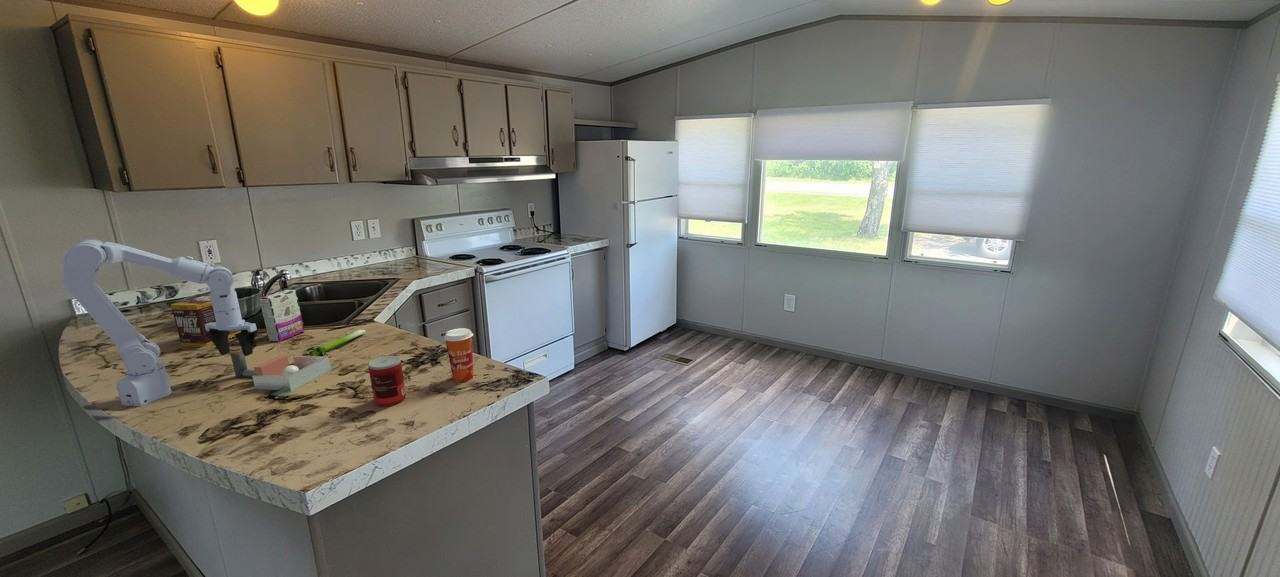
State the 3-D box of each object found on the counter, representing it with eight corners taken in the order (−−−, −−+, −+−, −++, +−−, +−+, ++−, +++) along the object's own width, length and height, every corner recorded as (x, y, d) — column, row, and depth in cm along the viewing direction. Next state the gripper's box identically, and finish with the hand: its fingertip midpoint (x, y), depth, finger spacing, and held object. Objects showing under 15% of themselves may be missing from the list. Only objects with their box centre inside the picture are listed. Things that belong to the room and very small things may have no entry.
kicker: (264, 383, 143) (259, 360, 141) (223, 382, 144) (218, 359, 143) (290, 370, 151) (285, 348, 150) (251, 369, 153) (246, 347, 151)
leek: (371, 339, 187) (317, 365, 157) (353, 342, 187) (296, 368, 158) (367, 323, 186) (312, 346, 156) (349, 326, 186) (291, 350, 157)
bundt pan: (279, 313, 216) (275, 290, 213) (204, 332, 194) (197, 306, 191) (249, 306, 229) (245, 284, 226) (175, 322, 207) (169, 298, 204)
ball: (292, 371, 143) (279, 366, 144) (291, 383, 144) (278, 378, 145) (303, 366, 147) (291, 361, 147) (302, 377, 148) (289, 373, 148)
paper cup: (448, 385, 142) (442, 337, 139) (450, 374, 149) (444, 329, 146) (477, 381, 144) (472, 334, 141) (478, 371, 151) (473, 326, 148)
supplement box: (180, 347, 178) (169, 304, 174) (222, 332, 193) (212, 292, 189) (206, 348, 176) (195, 304, 173) (245, 333, 191) (236, 293, 187)
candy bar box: (294, 331, 192) (285, 289, 188) (305, 332, 191) (297, 289, 187) (267, 341, 181) (257, 297, 177) (279, 342, 180) (269, 297, 176)
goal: (291, 391, 138) (288, 377, 137) (255, 389, 140) (252, 376, 139) (330, 369, 153) (328, 356, 152) (298, 367, 154) (295, 355, 153)
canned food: (397, 390, 139) (391, 353, 137) (412, 398, 134) (406, 360, 132) (368, 401, 134) (362, 362, 131) (382, 410, 129) (376, 369, 126)
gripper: (261, 305, 146) (270, 350, 150) (217, 304, 148) (227, 348, 152) (239, 312, 140) (249, 359, 143) (193, 311, 142) (204, 357, 145)
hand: (236, 354), depth 147 cm, fingers open, 7 cm apart
